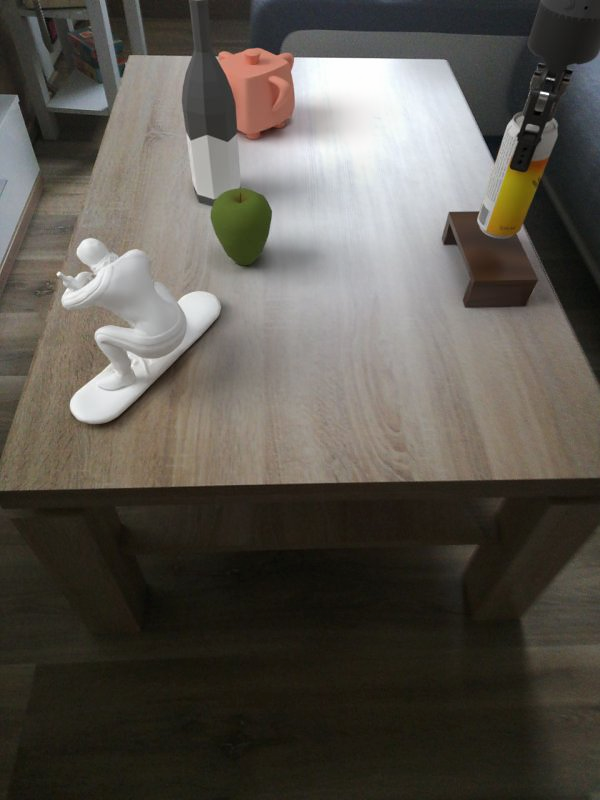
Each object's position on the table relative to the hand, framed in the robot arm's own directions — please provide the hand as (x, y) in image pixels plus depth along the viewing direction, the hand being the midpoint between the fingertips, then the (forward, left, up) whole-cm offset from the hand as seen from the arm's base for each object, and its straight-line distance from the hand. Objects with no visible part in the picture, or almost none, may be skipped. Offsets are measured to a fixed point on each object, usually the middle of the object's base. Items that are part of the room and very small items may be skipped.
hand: (523, 156), depth 71 cm
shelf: (0, 0, -18) cm, 18 cm away
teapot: (+52, -23, -19) cm, 60 cm away
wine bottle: (+46, 0, -19) cm, 50 cm away
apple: (+34, +14, -19) cm, 41 cm away
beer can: (0, 0, -11) cm, 11 cm away
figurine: (+35, +37, -19) cm, 54 cm away
